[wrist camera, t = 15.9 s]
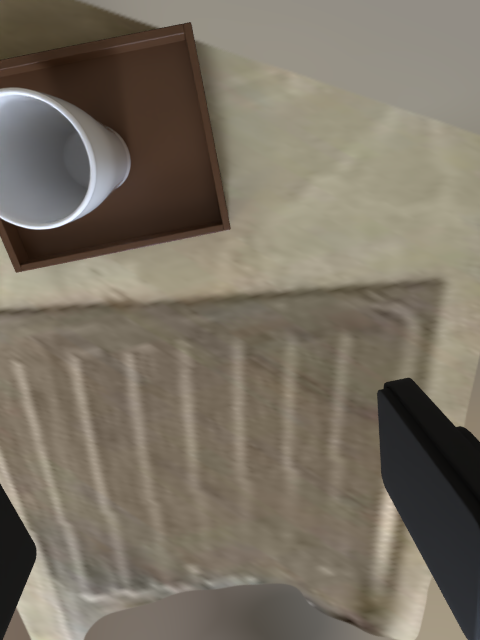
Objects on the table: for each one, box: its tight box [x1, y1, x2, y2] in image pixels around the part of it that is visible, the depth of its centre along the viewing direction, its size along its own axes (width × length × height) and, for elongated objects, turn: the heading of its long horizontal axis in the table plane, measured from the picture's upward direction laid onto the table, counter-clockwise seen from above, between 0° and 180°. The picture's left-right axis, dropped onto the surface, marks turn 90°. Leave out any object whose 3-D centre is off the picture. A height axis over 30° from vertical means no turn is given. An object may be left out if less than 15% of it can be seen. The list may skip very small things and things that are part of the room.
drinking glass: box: [0, 87, 131, 229], centre depth 27 cm, size 7×7×15 cm
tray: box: [0, 22, 231, 273], centre depth 33 cm, size 19×15×3 cm
